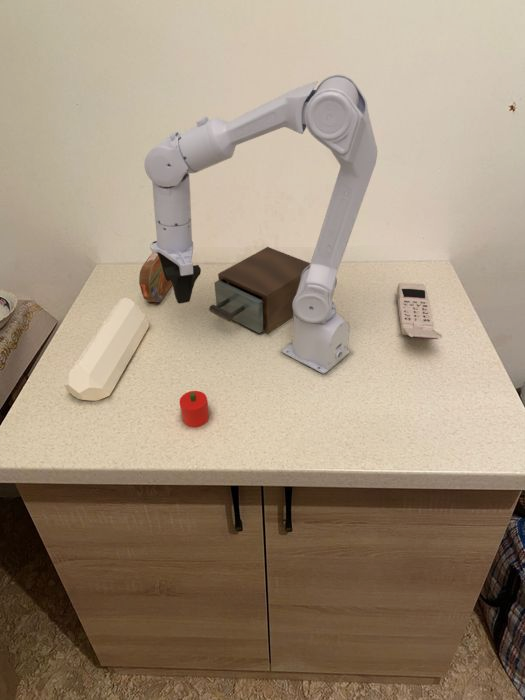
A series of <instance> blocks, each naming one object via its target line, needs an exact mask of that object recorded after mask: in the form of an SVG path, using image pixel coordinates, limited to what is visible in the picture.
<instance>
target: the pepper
mask: <svg viewBox="0 0 525 700" xmlns="http://www.w3.org/2000/svg"><path fill="white" fill-rule="evenodd" d="M179 408H180V413H181V419H182V422H183V424H184V425H186V426H187V427H190V428H199V427H202V426H204V425H205V424H206V423H207V422H208V421H209V419H210V410H209V403H208V397H207V395H206V394H205V393H204V392H202V391H200V390H190V391H188V392H185V393H184V394H182V395H181V396H180V399H179Z"/></svg>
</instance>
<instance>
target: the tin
mask: <svg viewBox="0 0 525 700" xmlns="http://www.w3.org/2000/svg"><path fill="white" fill-rule="evenodd" d="M138 284H139V287H140V291H141V295H142V298H143V300H144V301H146V302H154V303H155V302H156V303H161V302H162V301H163V300H164V298H165V297H166V295H167V294H168V292H169V290H170V288H171V287H172V286H173V285H172V282H171V280H170V281H167V280H166V278H165V275H164V272H163V268H162V265H161V262H160V259H159V256H158V254H157V253H154V252H151V253H150V255H149V256H148V258H147V259H146V260H145V262H144V263H143V264H142V266H141V268H140V271H139V277H138Z"/></svg>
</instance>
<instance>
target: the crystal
mask: <svg viewBox="0 0 525 700" xmlns="http://www.w3.org/2000/svg"><path fill="white" fill-rule="evenodd" d="M149 327H150V323H149V320H148V317H147V316H146V315H145V313H143V311H142V310H141V309H140V308H139V306H138V305H137V304H136V303H135V302H134V301H133V300H132V299H130V298H128V297H126V296H123V297H122V298H120V299H119V301H117V303H116V304H115V305H114V307H113V308H112V310H111V311H110V313H109V314H108V316H107V317H106V318H105V320H104V321H103V323H102V324H101V326H100V327H99V329H98V330H97V331H96V333H95V334H94V335H93V337H92V339H90V342H89V343H88V344H87V346H86V347H85V349H84V350H83V351H82V352H81V355H80V356H79V358H78V359H77V360H76V362H75V363H74V364H73V366H72V367H71V369H70V370H69V372H68V374H67V376H66V379H65V382H64V384H63V385H64V388H65V390H66V392H68V393H69V394H71V396H73V397H75V398H76V399H78V400H82V401H93V402H94V401H95V402H96V401H100V400H102V399H104V398H108V397H110V396H111V394H112V393H113V391H114V389H115V387H116V385H117V384H118V383H119V381H120V378H121V376H122V375H123V373H124V372H125V369H126V367H127V366H128V364H129V362H130V360H131V359H132V358H133V355H134V353H135V352H136V350H137V348H138V347H139V345H140V343H141V341H142V340H143V338H144V336H145V334H146V332H147V331H148V329H149Z"/></svg>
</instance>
